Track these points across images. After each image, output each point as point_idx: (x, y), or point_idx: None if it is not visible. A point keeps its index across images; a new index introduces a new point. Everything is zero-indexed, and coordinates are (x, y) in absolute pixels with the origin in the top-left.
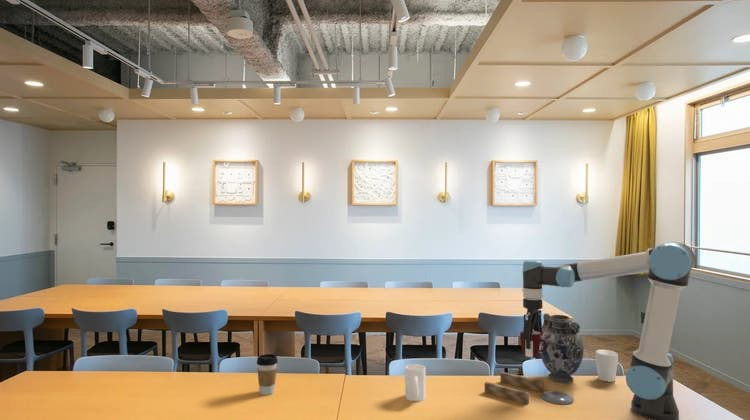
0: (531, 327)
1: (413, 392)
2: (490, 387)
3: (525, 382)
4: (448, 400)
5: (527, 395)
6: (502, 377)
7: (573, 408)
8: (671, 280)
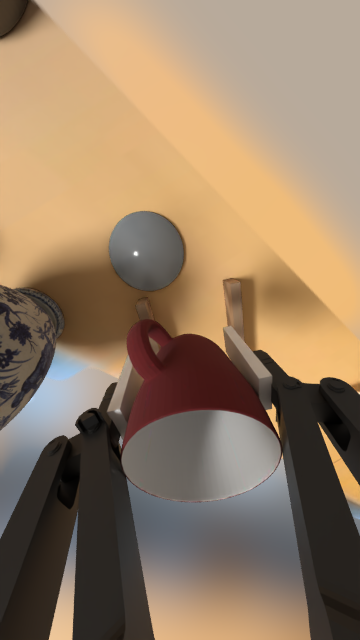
0: (350, 524)
1: None
2: None
3: None
4: (309, 368)
5: (238, 281)
6: None
7: (170, 190)
8: None
